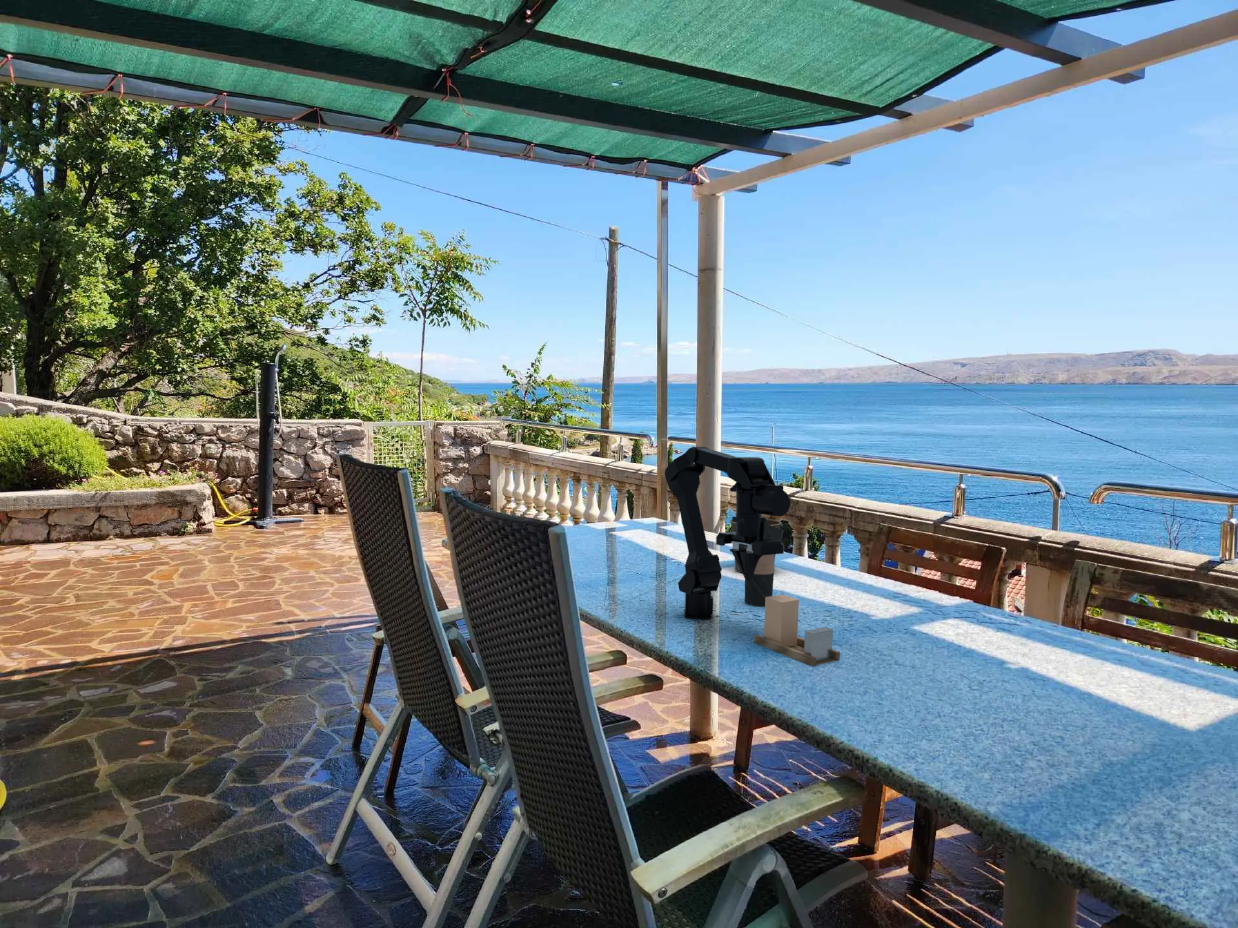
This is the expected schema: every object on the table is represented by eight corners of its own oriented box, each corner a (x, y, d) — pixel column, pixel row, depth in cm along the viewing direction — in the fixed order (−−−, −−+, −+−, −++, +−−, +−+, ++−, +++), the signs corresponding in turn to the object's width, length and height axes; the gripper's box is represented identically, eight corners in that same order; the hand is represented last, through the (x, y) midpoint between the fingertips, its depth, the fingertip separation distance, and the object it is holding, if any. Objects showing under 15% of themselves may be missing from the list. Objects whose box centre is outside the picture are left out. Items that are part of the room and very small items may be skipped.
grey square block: (803, 664, 154) (805, 630, 154) (824, 659, 158) (825, 626, 157) (810, 667, 153) (812, 633, 152) (831, 662, 156) (833, 629, 155)
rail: (753, 645, 166) (754, 635, 165) (780, 640, 170) (780, 630, 170) (811, 669, 151) (812, 658, 151) (839, 663, 155) (839, 651, 155)
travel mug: (764, 608, 197) (767, 532, 195) (738, 603, 201) (741, 529, 200) (777, 602, 203) (780, 529, 201) (751, 597, 207) (754, 525, 206)
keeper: (763, 641, 165) (765, 596, 164) (780, 638, 168) (782, 594, 167) (780, 648, 161) (781, 602, 160) (797, 644, 163) (798, 599, 163)
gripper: (803, 514, 167) (803, 584, 168) (753, 507, 184) (753, 571, 184) (762, 517, 162) (762, 589, 163) (714, 509, 179) (714, 574, 179)
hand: (748, 580), depth 172 cm, fingers closed
